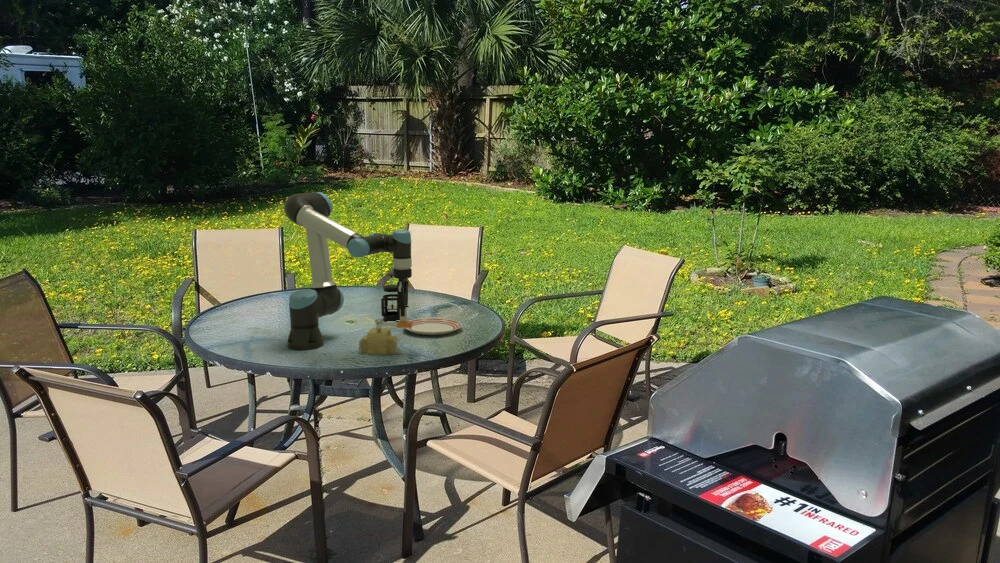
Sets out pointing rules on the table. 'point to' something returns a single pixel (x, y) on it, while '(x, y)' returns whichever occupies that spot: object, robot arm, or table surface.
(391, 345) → the valve pipe
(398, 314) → the french press
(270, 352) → the table surface
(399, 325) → the valve lever
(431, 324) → the dinner plate
